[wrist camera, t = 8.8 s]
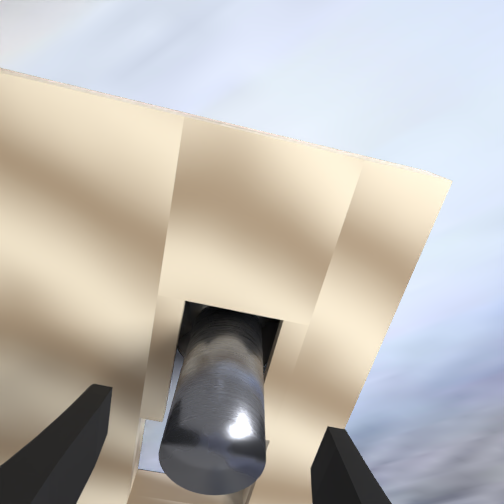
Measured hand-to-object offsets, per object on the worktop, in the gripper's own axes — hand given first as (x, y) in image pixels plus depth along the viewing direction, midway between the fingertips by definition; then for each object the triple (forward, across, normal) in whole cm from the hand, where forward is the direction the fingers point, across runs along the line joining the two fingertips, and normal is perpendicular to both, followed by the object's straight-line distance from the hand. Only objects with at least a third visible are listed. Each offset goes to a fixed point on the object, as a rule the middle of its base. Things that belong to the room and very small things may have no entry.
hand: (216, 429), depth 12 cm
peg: (+6, 0, 0) cm, 6 cm away
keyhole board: (+6, +3, +2) cm, 7 cm away
